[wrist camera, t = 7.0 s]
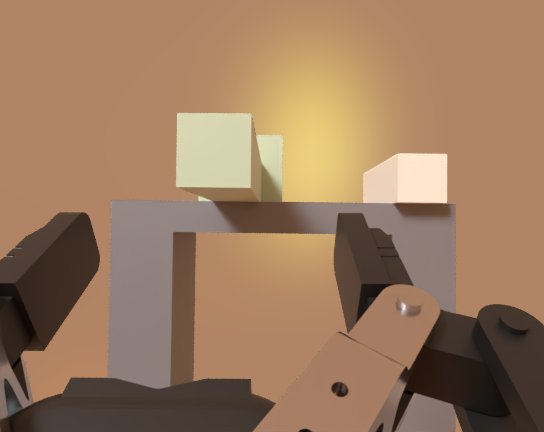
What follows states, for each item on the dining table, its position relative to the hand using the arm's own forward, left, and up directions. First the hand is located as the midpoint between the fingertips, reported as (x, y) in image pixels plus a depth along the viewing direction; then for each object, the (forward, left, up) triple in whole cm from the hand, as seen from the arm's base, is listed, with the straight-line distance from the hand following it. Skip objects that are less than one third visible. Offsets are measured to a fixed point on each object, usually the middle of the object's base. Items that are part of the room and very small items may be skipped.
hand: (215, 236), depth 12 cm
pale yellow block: (-1, +11, +2) cm, 11 cm away
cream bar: (+11, +15, +2) cm, 19 cm away
